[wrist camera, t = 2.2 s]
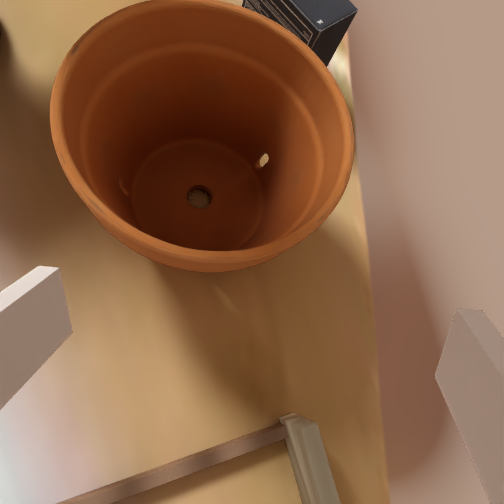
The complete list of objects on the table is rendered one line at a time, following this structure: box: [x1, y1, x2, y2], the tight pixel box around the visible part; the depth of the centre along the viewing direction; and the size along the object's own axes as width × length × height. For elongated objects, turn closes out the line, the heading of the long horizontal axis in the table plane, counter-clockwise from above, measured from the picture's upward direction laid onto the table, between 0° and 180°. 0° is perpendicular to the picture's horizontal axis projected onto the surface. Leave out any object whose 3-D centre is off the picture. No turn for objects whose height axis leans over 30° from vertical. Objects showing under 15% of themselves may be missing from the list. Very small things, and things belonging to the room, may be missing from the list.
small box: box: [242, 0, 358, 67], centre depth 42 cm, size 11×6×10 cm, turn 42°
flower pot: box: [50, 0, 354, 272], centre depth 32 cm, size 21×21×15 cm
